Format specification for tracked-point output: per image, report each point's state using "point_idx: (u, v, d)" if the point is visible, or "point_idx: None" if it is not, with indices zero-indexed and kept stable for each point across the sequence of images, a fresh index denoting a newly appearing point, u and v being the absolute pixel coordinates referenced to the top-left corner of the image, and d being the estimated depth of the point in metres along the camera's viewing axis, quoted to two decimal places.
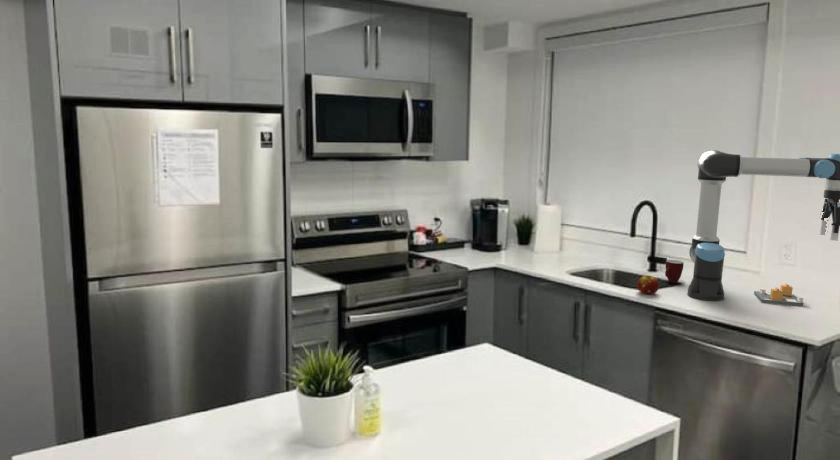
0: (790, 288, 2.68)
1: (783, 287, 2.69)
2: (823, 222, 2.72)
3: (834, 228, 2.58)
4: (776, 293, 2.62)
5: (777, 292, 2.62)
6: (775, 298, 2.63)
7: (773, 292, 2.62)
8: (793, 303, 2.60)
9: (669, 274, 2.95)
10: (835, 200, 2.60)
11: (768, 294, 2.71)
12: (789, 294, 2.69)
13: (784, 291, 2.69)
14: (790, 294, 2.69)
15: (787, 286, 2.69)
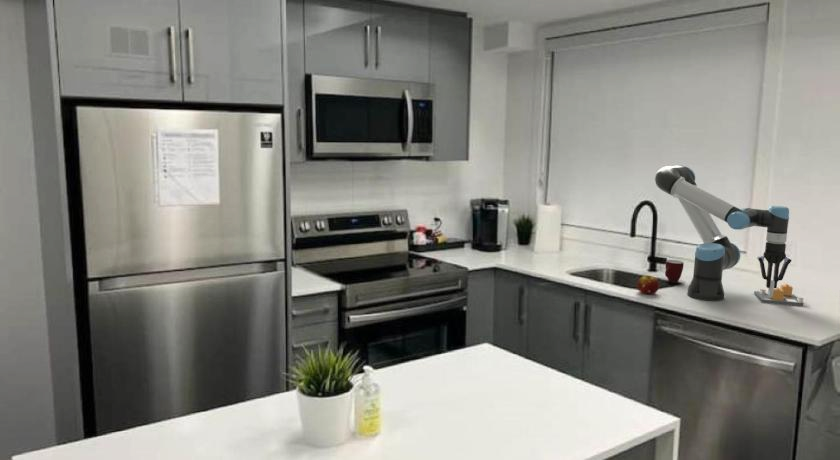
0: (790, 288, 2.68)
1: (783, 287, 2.69)
2: None
3: None
4: (777, 293, 2.62)
5: (778, 292, 2.62)
6: (776, 298, 2.62)
7: (774, 292, 2.62)
8: (793, 303, 2.60)
9: (669, 274, 2.95)
10: None
11: None
12: (789, 294, 2.69)
13: (784, 291, 2.69)
14: (790, 294, 2.69)
15: (787, 286, 2.69)
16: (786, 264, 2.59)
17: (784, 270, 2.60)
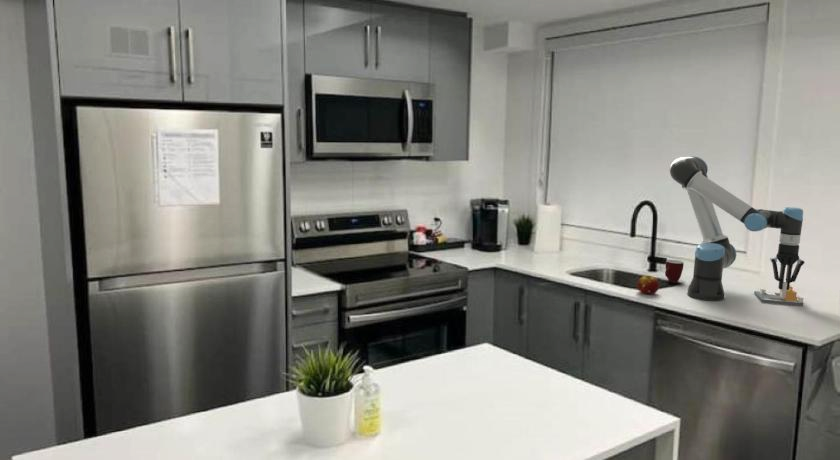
0: (790, 288, 2.68)
1: None
2: None
3: None
4: (790, 294, 2.61)
5: (791, 293, 2.60)
6: (789, 299, 2.61)
7: (787, 293, 2.61)
8: (793, 303, 2.60)
9: (669, 274, 2.95)
10: None
11: (768, 294, 2.71)
12: None
13: None
14: None
15: None
16: (799, 266, 2.58)
17: (797, 272, 2.59)
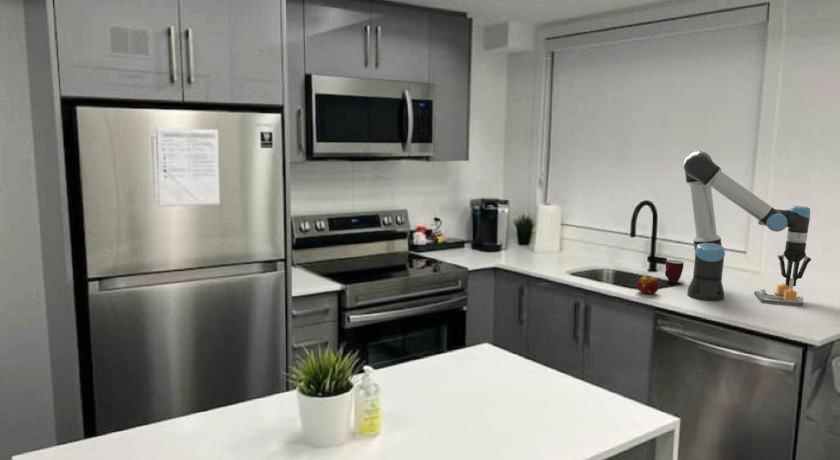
0: (787, 288, 2.69)
1: (780, 287, 2.70)
2: None
3: None
4: (790, 294, 2.61)
5: (791, 293, 2.60)
6: (789, 299, 2.61)
7: (787, 293, 2.61)
8: (793, 303, 2.60)
9: (669, 274, 2.95)
10: None
11: (768, 294, 2.71)
12: None
13: (781, 291, 2.70)
14: None
15: (784, 286, 2.69)
16: (806, 263, 2.65)
17: (804, 268, 2.66)
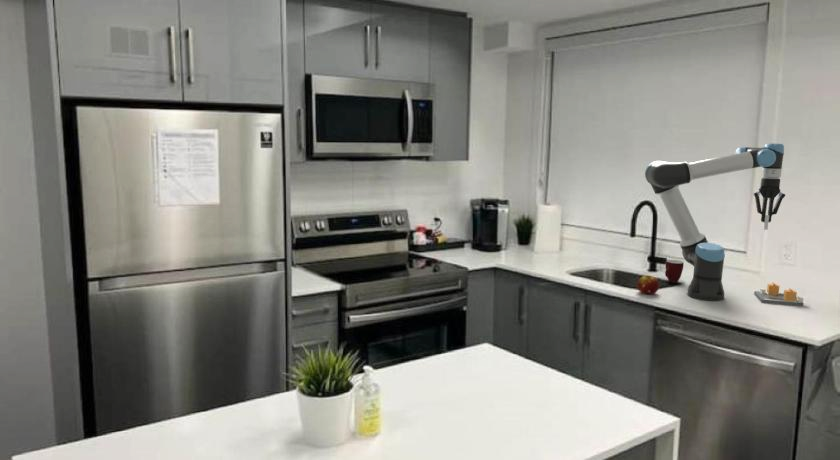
0: (777, 287, 2.70)
1: (770, 286, 2.71)
2: None
3: None
4: (790, 294, 2.61)
5: (791, 293, 2.60)
6: (789, 299, 2.61)
7: (787, 293, 2.61)
8: (793, 303, 2.60)
9: (669, 274, 2.95)
10: None
11: (768, 294, 2.71)
12: (776, 293, 2.70)
13: (771, 290, 2.71)
14: (777, 293, 2.70)
15: (774, 285, 2.70)
16: (780, 198, 2.72)
17: (778, 204, 2.73)
